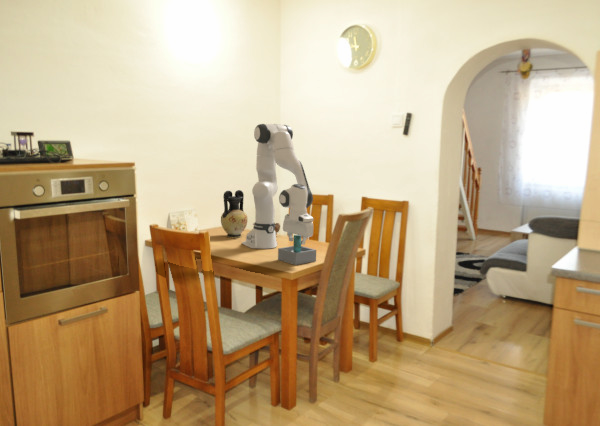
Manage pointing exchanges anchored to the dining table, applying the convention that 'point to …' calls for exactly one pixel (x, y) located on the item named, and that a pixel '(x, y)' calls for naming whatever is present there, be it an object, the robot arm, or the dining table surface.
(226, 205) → the amphora
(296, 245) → the peg
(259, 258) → the dining table surface
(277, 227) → the lion figurine
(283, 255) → the box
